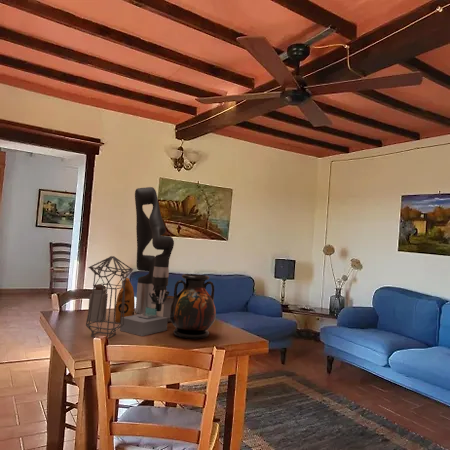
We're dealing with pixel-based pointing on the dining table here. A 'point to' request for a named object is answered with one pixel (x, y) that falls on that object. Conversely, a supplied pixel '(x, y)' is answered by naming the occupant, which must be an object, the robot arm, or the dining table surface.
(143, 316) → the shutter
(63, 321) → the dining table surface
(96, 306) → the perfume bottle
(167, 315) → the coffee pot
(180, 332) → the amphora vase
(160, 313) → the plug
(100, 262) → the geometric lantern
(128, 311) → the coffee package
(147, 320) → the socket
